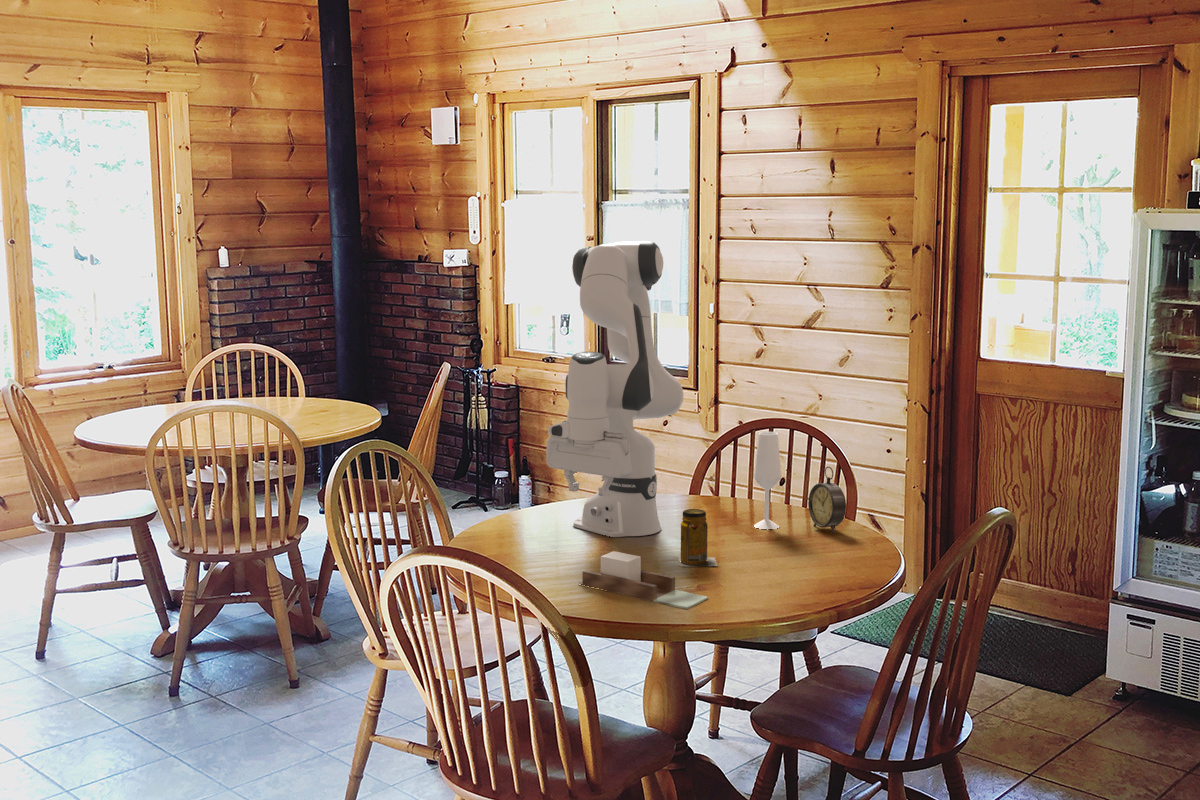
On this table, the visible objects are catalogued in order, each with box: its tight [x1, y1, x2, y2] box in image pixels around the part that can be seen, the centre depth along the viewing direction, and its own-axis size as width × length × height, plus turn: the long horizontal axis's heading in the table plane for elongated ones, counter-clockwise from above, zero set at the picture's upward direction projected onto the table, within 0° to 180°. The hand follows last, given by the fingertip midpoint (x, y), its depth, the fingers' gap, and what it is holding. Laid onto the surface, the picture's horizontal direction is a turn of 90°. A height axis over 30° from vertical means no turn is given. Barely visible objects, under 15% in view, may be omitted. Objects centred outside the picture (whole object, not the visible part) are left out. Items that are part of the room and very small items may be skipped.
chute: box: [578, 569, 709, 610], centre depth 246 cm, size 27×8×3 cm, turn 54°
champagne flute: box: [753, 431, 782, 531], centre depth 296 cm, size 7×7×24 cm
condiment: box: [677, 508, 719, 568], centre depth 266 cm, size 7×8×12 cm
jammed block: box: [600, 550, 642, 582], centre depth 249 cm, size 7×5×6 cm
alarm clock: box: [807, 466, 847, 535], centre depth 293 cm, size 11×5×16 cm, turn 23°
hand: (588, 493), depth 251 cm, fingers open, 6 cm apart
